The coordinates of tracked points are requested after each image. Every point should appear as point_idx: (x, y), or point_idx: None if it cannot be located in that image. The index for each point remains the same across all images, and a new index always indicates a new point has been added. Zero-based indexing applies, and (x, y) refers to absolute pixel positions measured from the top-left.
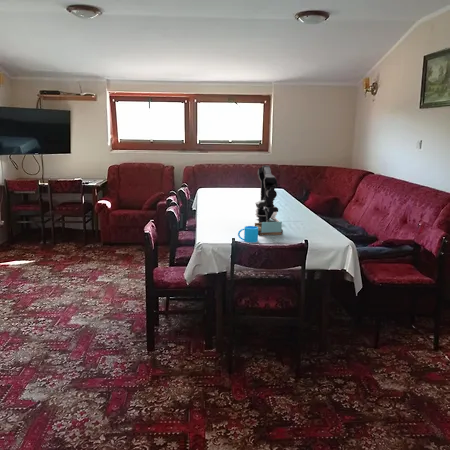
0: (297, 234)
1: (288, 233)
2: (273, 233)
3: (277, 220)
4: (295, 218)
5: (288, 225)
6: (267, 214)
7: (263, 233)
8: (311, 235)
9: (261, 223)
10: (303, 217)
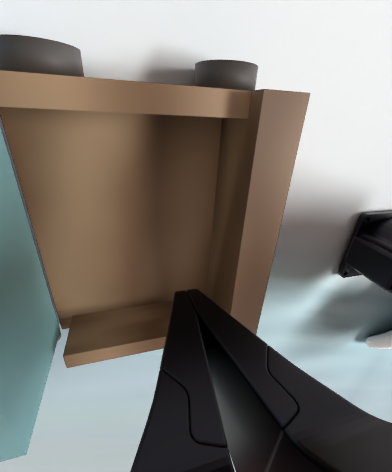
0: (78, 402)
1: (111, 360)
2: (45, 255)
3: (384, 344)
4: (388, 397)
5: (305, 371)
6: (146, 425)
7: (7, 129)
8: (50, 457)
9: (246, 193)
10: (382, 417)
